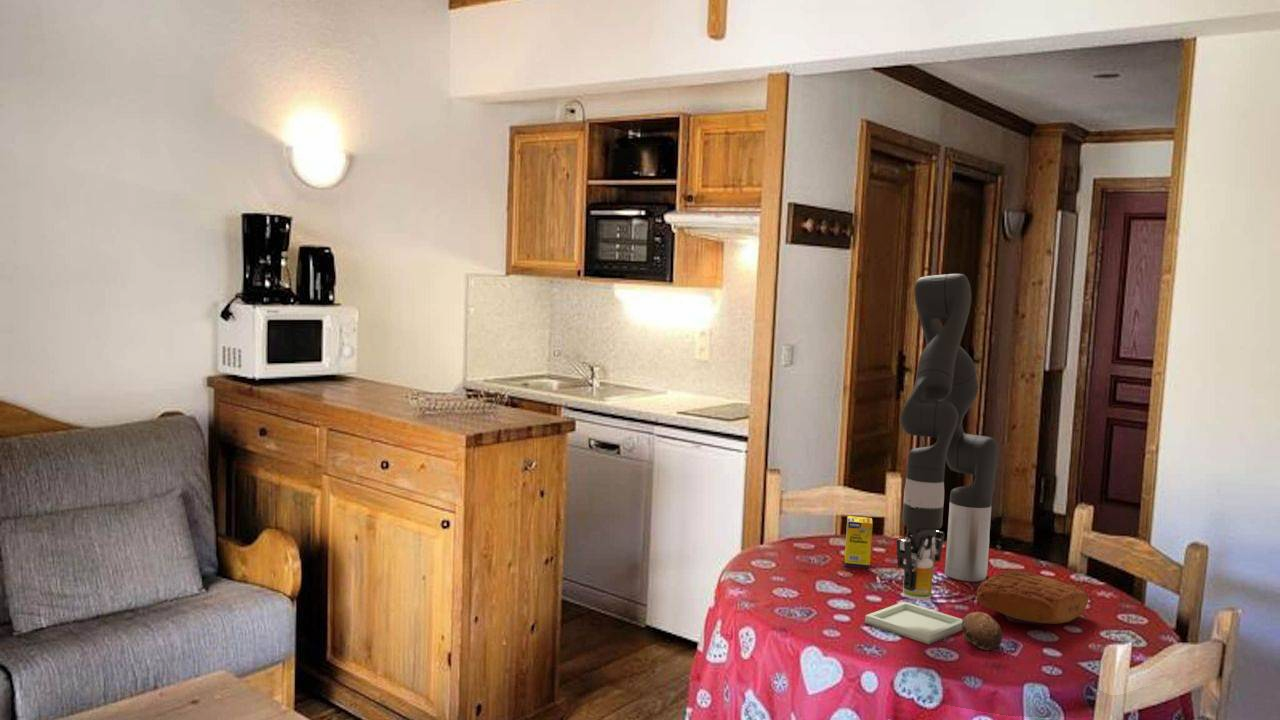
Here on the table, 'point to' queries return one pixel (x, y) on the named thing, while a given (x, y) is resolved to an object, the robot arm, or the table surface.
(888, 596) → the table surface
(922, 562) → the supplement bottle
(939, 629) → the tray
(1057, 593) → the clay tablet
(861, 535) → the supplement box
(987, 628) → the mushroom
